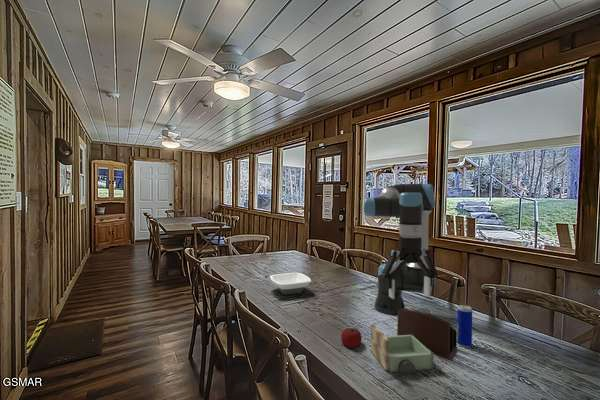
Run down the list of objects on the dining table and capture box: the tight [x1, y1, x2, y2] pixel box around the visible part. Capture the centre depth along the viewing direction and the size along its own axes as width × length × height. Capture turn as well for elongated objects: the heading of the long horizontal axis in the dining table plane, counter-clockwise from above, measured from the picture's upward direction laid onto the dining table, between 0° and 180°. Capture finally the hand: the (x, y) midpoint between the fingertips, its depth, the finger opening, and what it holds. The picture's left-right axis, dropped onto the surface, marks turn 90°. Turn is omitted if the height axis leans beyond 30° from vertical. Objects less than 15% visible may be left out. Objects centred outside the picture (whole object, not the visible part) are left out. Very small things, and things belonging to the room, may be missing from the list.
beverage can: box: [456, 304, 473, 348], centre depth 118 cm, size 5×5×15 cm
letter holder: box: [396, 309, 458, 360], centre depth 118 cm, size 10×20×14 cm, turn 48°
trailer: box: [385, 335, 434, 376], centre depth 106 cm, size 18×15×6 cm
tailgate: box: [370, 323, 390, 372], centre depth 105 cm, size 13×1×11 cm, turn 9°
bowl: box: [269, 272, 312, 296], centre depth 182 cm, size 22×23×8 cm
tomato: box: [340, 327, 362, 349], centre depth 117 cm, size 8×8×7 cm
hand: (409, 296), depth 105 cm, fingers open, 13 cm apart
